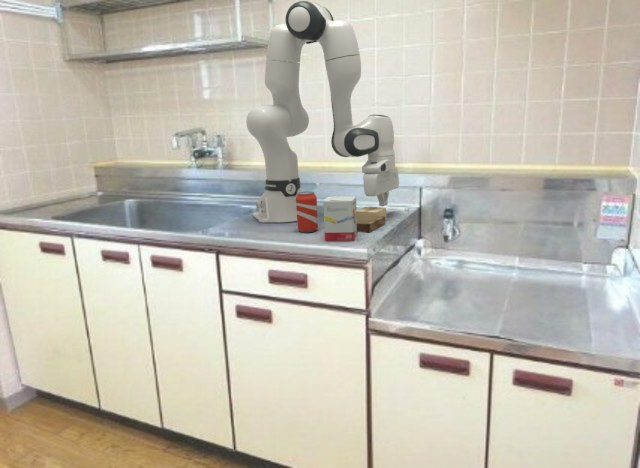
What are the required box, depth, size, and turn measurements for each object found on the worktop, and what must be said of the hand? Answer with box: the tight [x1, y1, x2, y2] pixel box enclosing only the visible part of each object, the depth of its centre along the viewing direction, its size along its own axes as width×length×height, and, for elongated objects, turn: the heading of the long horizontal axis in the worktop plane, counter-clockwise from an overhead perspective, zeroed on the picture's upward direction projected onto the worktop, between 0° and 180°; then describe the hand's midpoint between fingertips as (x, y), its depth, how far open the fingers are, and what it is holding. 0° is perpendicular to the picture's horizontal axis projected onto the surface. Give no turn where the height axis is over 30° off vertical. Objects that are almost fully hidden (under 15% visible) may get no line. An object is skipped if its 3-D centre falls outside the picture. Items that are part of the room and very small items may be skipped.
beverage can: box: [296, 190, 319, 233], centre depth 154 cm, size 6×6×12 cm
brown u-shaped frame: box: [357, 216, 386, 234], centre depth 156 cm, size 12×12×2 cm
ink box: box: [322, 195, 358, 242], centre depth 143 cm, size 9×9×12 cm
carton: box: [356, 206, 387, 223], centre depth 163 cm, size 8×8×5 cm
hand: (383, 205), depth 169 cm, fingers closed
